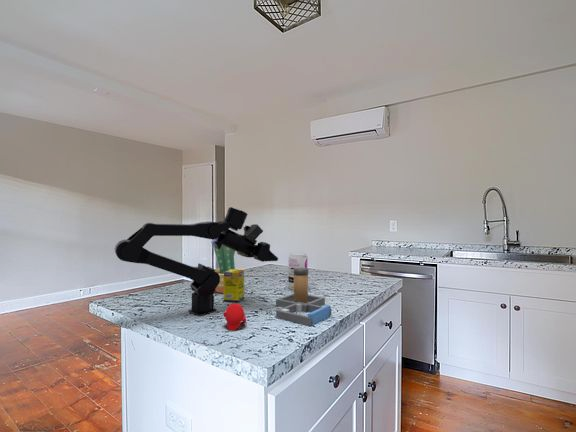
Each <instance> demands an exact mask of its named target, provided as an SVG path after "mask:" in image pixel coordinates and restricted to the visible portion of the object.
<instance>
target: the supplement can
mask: <svg viewBox="0 0 576 432" xmlns="http://www.w3.org/2000/svg"><path fill="white" fill-rule="evenodd" d="M287 260H288V262H287V263H288V265H287V266H288V268H287V269H288V271H287V272H288V275H287V277H288V278H287V279H288V280H287V281H288V284H287V285H288V286H287V287H288V288H289V289H290V291H292V290H293V291H294V269H295V268H307V269H308V256H307V253H305V252H292V253H291V252H290V253H289V255H288V259H287Z"/></svg>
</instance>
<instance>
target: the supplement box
mask: <svg viewBox="0 0 576 432" xmlns="http://www.w3.org/2000/svg"><path fill="white" fill-rule="evenodd" d="M244 299H245V270H244V269H242V270H233V269H230V270H228V271H226V272H224V293H223V303H224V302H225V303H226V302H227V303H237V304H239V303H240V302H242V300H244Z"/></svg>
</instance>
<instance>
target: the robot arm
mask: <svg viewBox="0 0 576 432" xmlns="http://www.w3.org/2000/svg"><path fill="white" fill-rule="evenodd" d="M247 217H248V213H247V212H245V211H243V210H242V209H241V210H240V209H238V208H234V207H232V206H231V207H228V209H227V212H226V215H225V217H224V219H223V221H222V220H220V221H217V222H216V221H200V222H196V223H190V224H187V223H186V224H185V223H182V224H181V223H153V222H146V223H144V224H143V225H142V227H140V228H139V229H138V230H137V231H135V232H134V233H133V234H131V235H130V236H129V237H128V238H127V239H122V240H119V241H118V242H117V243H116V245H115V247H114V253H115V255H116V256H117V259H119V260H120V261H122V262H127V263H133V264H144V265H148V266H151V267H155V268H157V269H161V270H164V271H166V272H169V273H172V274H176V275H177V276H178V275H179V276H181V277H184V278H187V279H190V280H192V281H193V282H192V283H191V284H190V285H189V286H190V289H191V291H193V293H191V309H188V313H191V314H194V315H198V316H204V315H207V314H209V313H213V312H217V309H216V308H215V296H214V294H215V292H216V287H217V286H218V284H219V283H220V276H219V274H218V273H216V272H215V269H216V268H213V267H211V266H205V264H204V265H203V264H202V263H200V262H199V263H197V266H192V265H189V264H186V263H183V262H180V261H177V260H174V259H172V258H169V257H166V256H164V255H162V254H158V253H154V252H152V251H150V250H148V249H147V248H145V247H144V246H145V245H146V244H147V243H148V242H149V241H150V240H151V239H152V238H153V237H157V236H159V237H165V236H166V237H169V236H170V237H171V236H172V237H173V236H174V237H183V236H184V237H195V238H202V239H208V240H212V239H213V240H214V239H217V240H216V241H213V243H214V246H215V248H216V249H220V248H221V246H222V245H223V246H226V247H228V248H230V249H232V250H234V251H235V252H236V254H237V255H239V256H241V257H245V258H253V259H254V260H256V261H259V262H262V263H265V262H278V260H279V257H278V256H277V255H276V254H275V253H273V252H272V251H271V244H270V243H268V242H266V241H265V242H264V241H260V242H258V240H257V239H258V237H260V235H261V234H263V232H264V230H263V229H262V228H261V227H260V226H259V225H258V224H255V223H253V224H251V225H245V226H244V224H245V221H246V220H247ZM239 230H243V234H240V233H237V232H238V231H239ZM221 232H222V233H221ZM257 242H258V243H257Z"/></svg>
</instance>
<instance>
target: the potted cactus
mask: <svg viewBox="0 0 576 432" xmlns="http://www.w3.org/2000/svg"><path fill="white" fill-rule="evenodd" d="M221 233H222V232H221ZM216 240H217V239H214V240H213V239H211V249H213V252H214V253H215V255H216V258H217V264H218V268H214V269H215V272H216V273H218V274H219V276H220V283H219V284H218V286H217V287H216V289H215V292H216V293H222V294H224V272H226V271H228V270H230V269H233V270H243V269H242V268H235V267H236V265H235V254H236V251H234V250H232V249H230V248H228V247H226V246H223V245H222V246H221V248H220V249H216V248H215V246H214V243H213V241H216Z"/></svg>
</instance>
